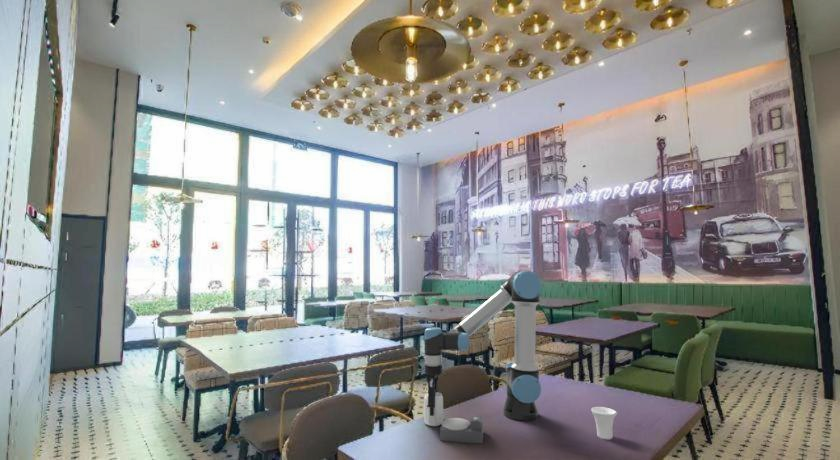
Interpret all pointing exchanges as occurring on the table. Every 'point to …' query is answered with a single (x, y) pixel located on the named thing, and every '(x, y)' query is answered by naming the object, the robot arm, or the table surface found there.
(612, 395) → the table surface
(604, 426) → the cup
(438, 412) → the beverage can
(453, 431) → the grey hot plate stirrer
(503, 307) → the robot arm
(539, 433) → the table surface
